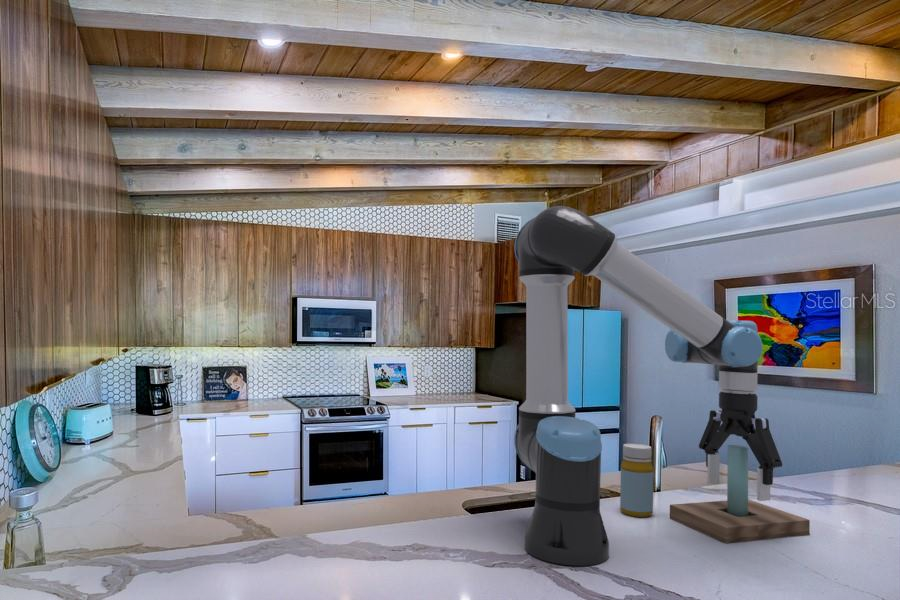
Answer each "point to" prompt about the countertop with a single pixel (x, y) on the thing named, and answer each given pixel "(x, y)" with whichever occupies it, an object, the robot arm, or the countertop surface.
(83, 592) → the countertop surface
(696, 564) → the countertop surface
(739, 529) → the bore block
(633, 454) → the bottle
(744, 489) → the pin
